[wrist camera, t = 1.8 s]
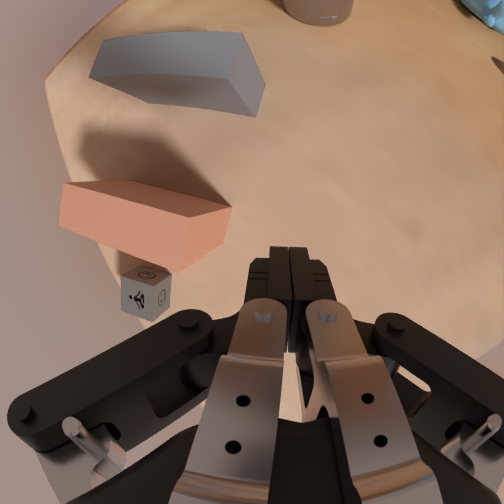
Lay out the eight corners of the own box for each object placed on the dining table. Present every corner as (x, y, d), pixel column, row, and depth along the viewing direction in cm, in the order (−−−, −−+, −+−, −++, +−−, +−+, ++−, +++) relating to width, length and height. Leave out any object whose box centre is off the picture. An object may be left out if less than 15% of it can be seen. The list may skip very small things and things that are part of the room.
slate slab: (149, 103, 31) (88, 77, 19) (159, 74, 30) (103, 40, 18) (255, 117, 29) (226, 78, 17) (265, 84, 28) (242, 33, 16)
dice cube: (169, 306, 37) (152, 322, 32) (140, 297, 38) (121, 310, 33) (172, 274, 36) (153, 286, 31) (141, 265, 36) (121, 275, 32)
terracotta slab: (124, 212, 35) (59, 225, 23) (130, 180, 34) (63, 182, 22) (223, 242, 33) (179, 272, 21) (232, 206, 32) (189, 218, 20)
